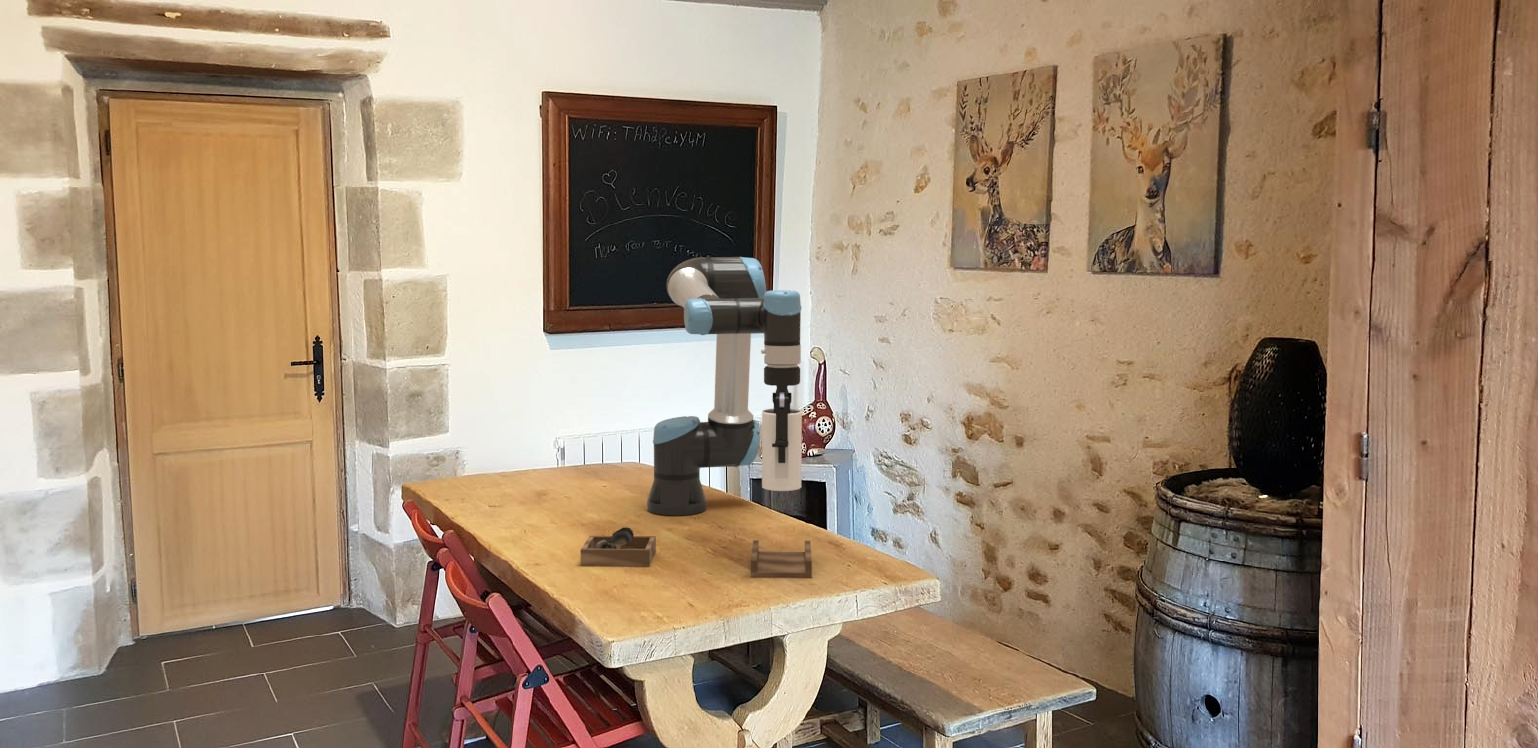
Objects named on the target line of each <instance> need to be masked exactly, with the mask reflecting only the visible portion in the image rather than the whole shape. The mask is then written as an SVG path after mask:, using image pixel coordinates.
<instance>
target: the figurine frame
mask: <svg viewBox="0 0 1538 748" xmlns="http://www.w3.org/2000/svg"><path fill="white" fill-rule="evenodd" d="M611 537H612V535H589V537H588V538H587V539H586V541H585V542H584V544H583V545H582V547H581V548H580V566H581V565H600V566H599V567H650V566H651V564H652V562H653V559H654V557H655V555H656V552H657V548H656V547H657V545H656V543H657V542H656V541H657V540H656V539H657V538H656V537H657V536H655V535H634V537H633V540H632V541H631V542H629V543H626V544H625V546H624V548H623V549H596V544H597V543H599V542H600V541H602V540H606V541H607V542H608V543H610V540H611ZM621 547H622V546H621ZM654 554H655V555H654ZM601 565H603V566H601ZM605 565H606V566H605Z"/></svg>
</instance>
